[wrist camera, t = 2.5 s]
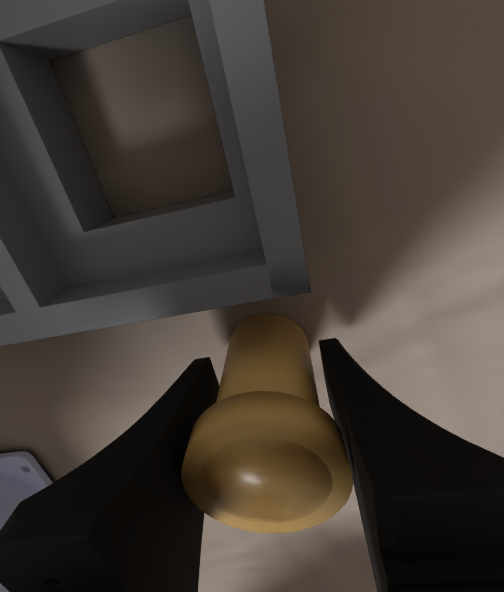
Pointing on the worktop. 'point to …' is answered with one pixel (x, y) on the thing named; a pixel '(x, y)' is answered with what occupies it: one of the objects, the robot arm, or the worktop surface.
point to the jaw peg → (267, 437)
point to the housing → (148, 224)
